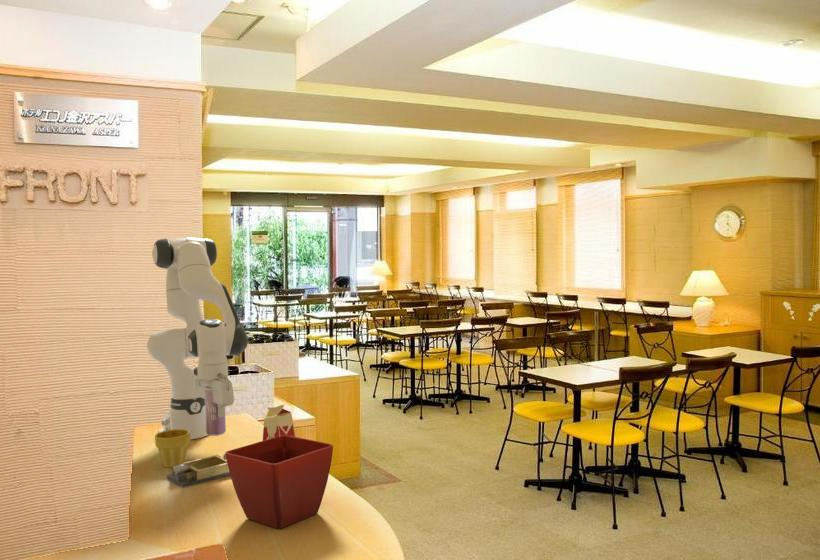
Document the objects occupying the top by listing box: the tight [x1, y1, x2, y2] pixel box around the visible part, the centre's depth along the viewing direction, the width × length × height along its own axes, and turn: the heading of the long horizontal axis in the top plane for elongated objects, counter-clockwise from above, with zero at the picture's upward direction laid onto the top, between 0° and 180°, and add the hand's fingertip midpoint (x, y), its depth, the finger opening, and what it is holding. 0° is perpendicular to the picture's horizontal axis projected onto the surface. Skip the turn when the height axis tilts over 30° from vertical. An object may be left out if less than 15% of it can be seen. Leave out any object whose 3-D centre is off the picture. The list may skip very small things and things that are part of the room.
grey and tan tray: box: [166, 453, 230, 488], centre depth 203 cm, size 12×21×5 cm, turn 131°
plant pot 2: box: [224, 435, 334, 530], centre depth 168 cm, size 19×19×17 cm
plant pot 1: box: [154, 429, 191, 468], centre depth 214 cm, size 10×10×10 cm
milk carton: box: [262, 404, 297, 441], centre depth 204 cm, size 9×9×20 cm
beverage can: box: [205, 386, 227, 437], centre depth 215 cm, size 6×6×15 cm
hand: (215, 415), depth 216 cm, fingers closed on beverage can, 5 cm apart
